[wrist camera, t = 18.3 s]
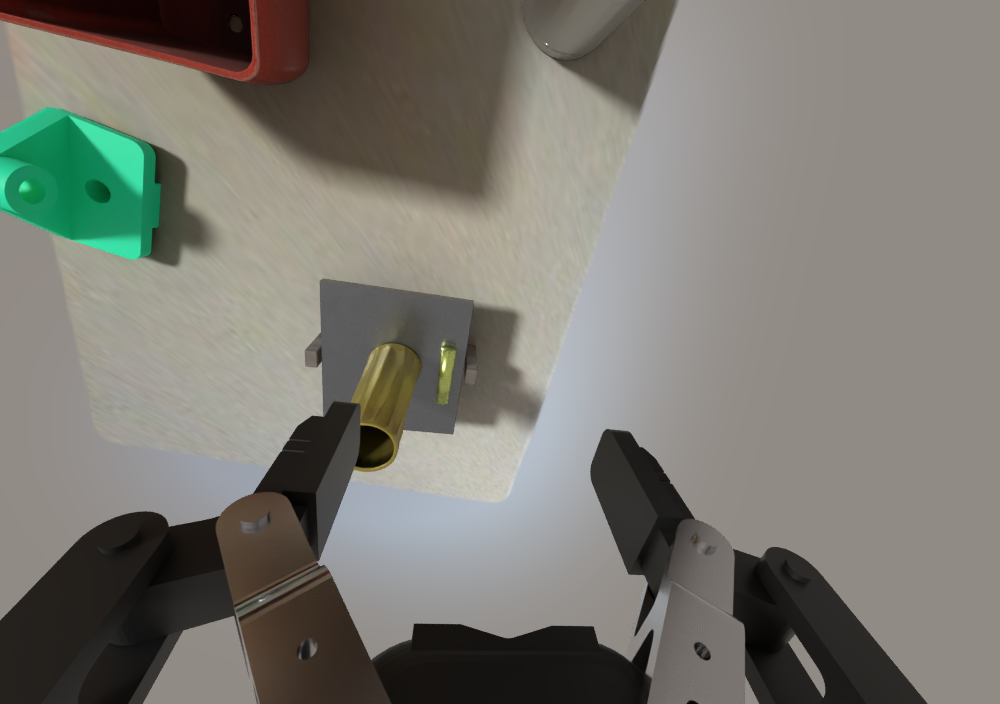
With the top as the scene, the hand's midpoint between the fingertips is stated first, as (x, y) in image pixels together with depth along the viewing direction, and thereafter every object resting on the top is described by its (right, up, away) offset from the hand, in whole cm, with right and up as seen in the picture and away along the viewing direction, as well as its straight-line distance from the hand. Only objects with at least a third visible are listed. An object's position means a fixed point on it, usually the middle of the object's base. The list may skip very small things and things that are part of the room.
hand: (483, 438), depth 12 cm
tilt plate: (-12, +1, +32) cm, 34 cm away
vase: (-12, +1, +31) cm, 33 cm away
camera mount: (-40, +20, +27) cm, 52 cm away
